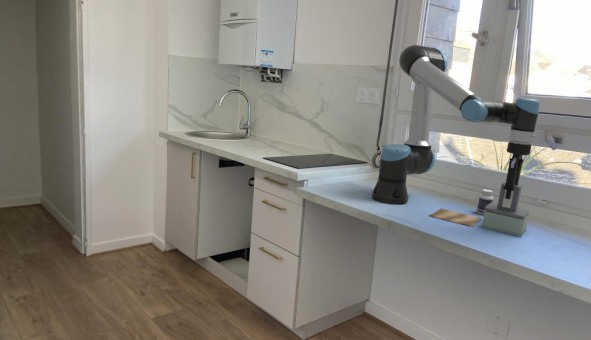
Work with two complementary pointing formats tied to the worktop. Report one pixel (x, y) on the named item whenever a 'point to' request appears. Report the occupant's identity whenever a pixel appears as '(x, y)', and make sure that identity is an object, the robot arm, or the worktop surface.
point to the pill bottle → (484, 200)
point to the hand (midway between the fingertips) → (507, 205)
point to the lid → (515, 200)
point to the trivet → (456, 217)
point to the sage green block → (504, 223)
